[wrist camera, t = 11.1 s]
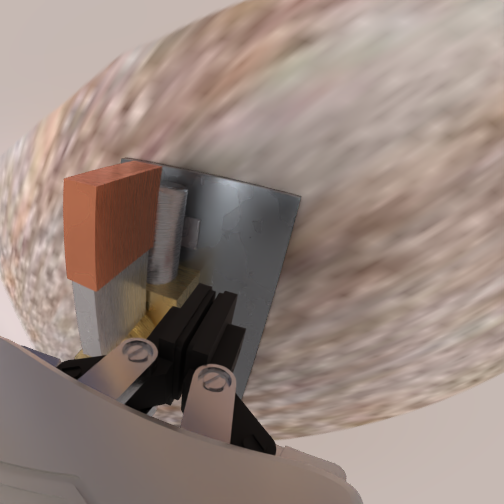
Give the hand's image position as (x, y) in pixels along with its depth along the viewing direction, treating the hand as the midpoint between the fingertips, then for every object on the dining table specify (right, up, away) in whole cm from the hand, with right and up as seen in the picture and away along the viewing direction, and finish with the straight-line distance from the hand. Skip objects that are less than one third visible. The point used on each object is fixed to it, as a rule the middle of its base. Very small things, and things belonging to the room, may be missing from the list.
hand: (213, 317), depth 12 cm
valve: (-4, -1, +13) cm, 13 cm away
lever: (-6, +2, +6) cm, 9 cm away
